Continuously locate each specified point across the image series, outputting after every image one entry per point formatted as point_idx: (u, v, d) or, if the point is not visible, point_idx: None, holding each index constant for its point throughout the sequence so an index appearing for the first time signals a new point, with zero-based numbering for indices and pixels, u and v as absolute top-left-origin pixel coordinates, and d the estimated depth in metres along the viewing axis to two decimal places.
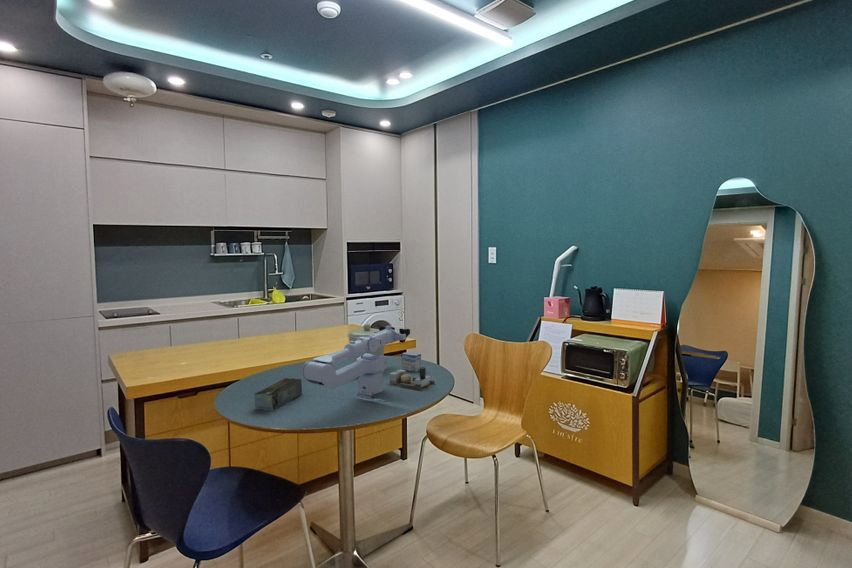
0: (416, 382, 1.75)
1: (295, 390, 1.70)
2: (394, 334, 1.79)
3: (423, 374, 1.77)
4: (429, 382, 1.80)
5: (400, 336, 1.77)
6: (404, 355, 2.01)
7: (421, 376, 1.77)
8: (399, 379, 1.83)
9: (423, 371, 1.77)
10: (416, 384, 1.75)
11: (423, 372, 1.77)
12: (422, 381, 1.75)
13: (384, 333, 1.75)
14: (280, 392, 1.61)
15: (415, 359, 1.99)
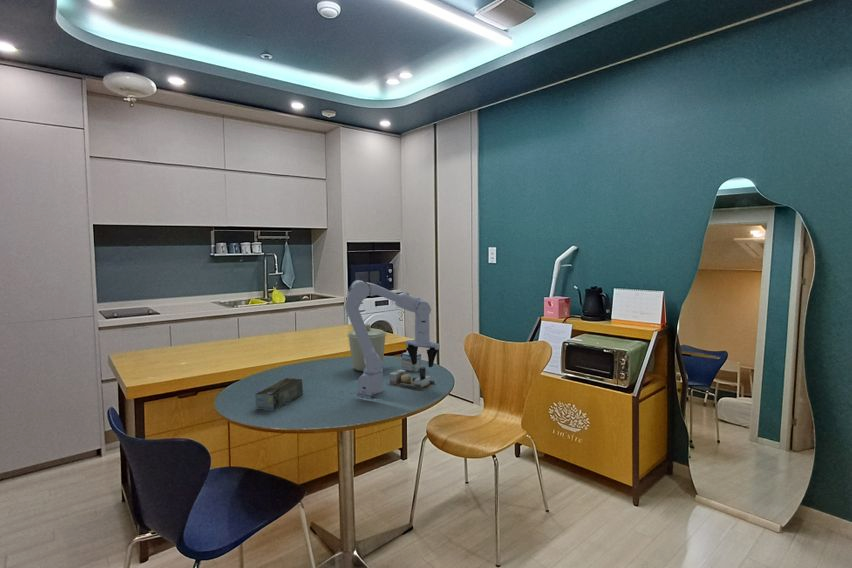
0: (416, 382, 1.75)
1: (296, 390, 1.70)
2: (429, 343, 1.76)
3: (423, 374, 1.77)
4: (429, 382, 1.80)
5: None
6: (404, 355, 2.01)
7: (421, 376, 1.77)
8: (399, 379, 1.83)
9: (423, 371, 1.77)
10: (416, 384, 1.75)
11: (423, 372, 1.77)
12: (422, 381, 1.75)
13: None
14: (281, 392, 1.61)
15: None
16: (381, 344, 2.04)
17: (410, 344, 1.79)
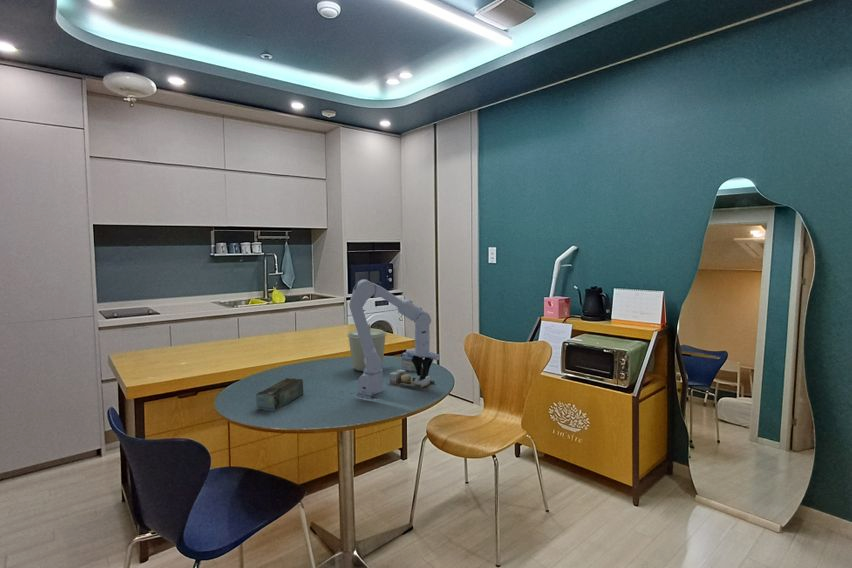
0: (416, 382, 1.75)
1: (297, 390, 1.70)
2: (429, 353, 1.76)
3: None
4: (429, 382, 1.80)
5: None
6: (404, 355, 2.01)
7: (421, 376, 1.77)
8: (399, 379, 1.83)
9: None
10: (416, 384, 1.75)
11: None
12: (422, 381, 1.75)
13: None
14: (282, 392, 1.61)
15: None
16: (381, 344, 2.04)
17: (410, 354, 1.80)
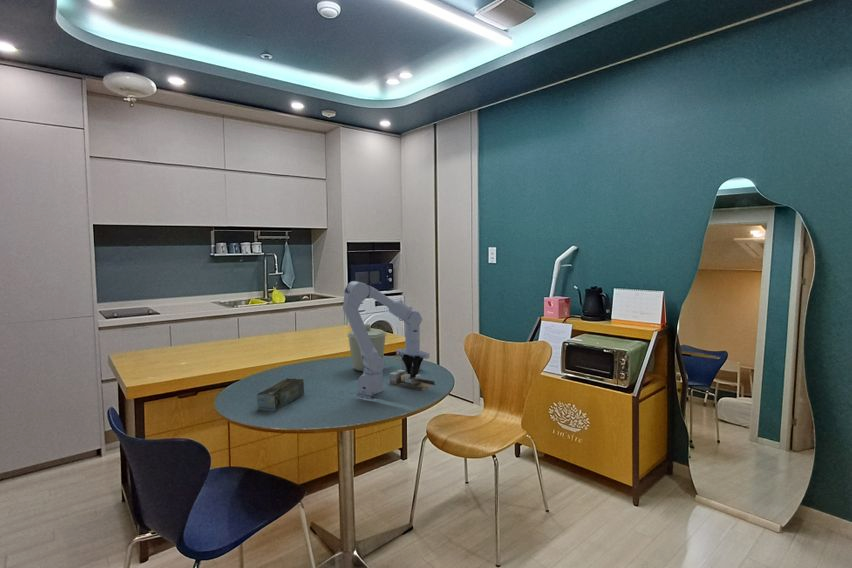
0: (406, 380, 1.78)
1: (298, 390, 1.70)
2: (420, 352, 1.79)
3: (413, 372, 1.79)
4: (419, 380, 1.82)
5: None
6: None
7: (411, 374, 1.79)
8: (399, 379, 1.83)
9: None
10: (406, 382, 1.78)
11: None
12: (412, 379, 1.77)
13: None
14: (283, 392, 1.61)
15: None
16: (381, 344, 2.04)
17: (401, 353, 1.82)
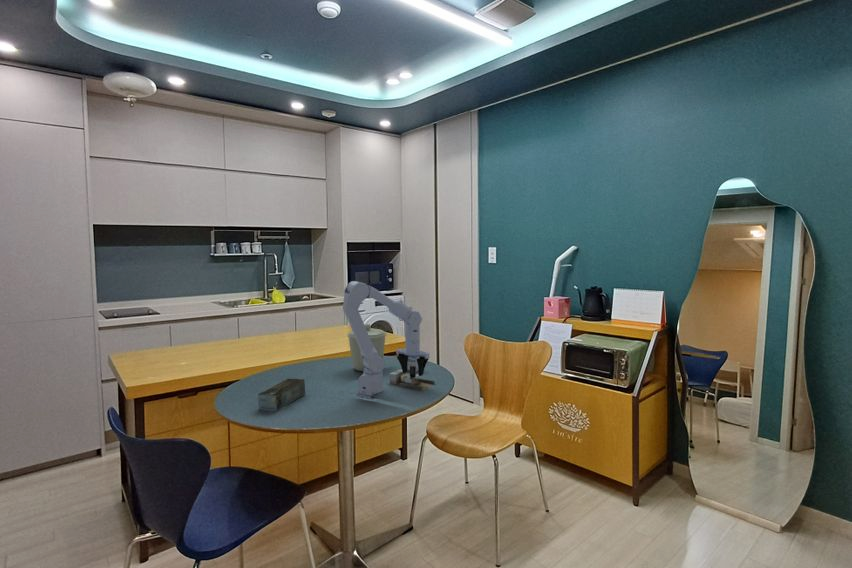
0: (406, 380, 1.78)
1: (299, 390, 1.70)
2: (420, 352, 1.79)
3: (413, 372, 1.79)
4: (419, 380, 1.82)
5: None
6: None
7: (411, 374, 1.79)
8: (399, 379, 1.83)
9: (413, 369, 1.79)
10: (406, 382, 1.78)
11: (413, 370, 1.79)
12: (412, 379, 1.77)
13: None
14: (284, 392, 1.61)
15: (415, 359, 1.99)
16: (381, 344, 2.04)
17: (401, 353, 1.82)
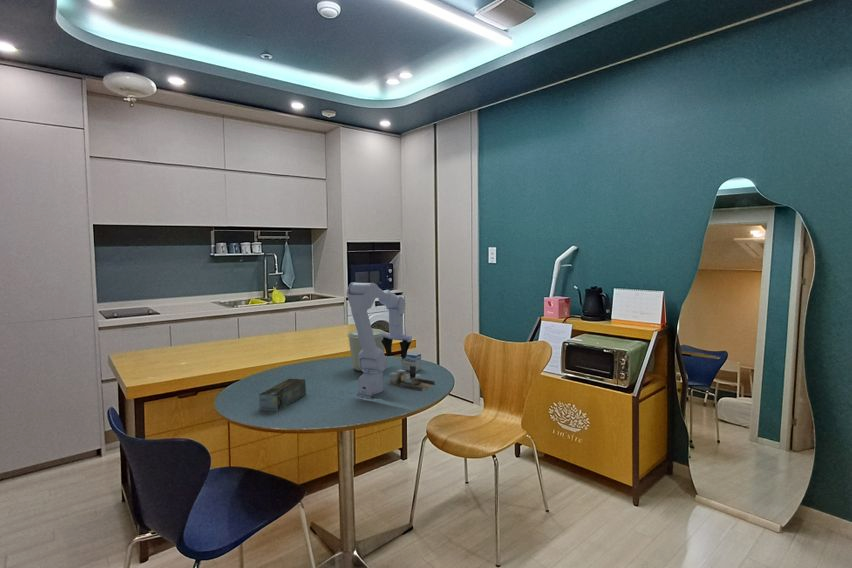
0: (406, 380, 1.78)
1: (300, 390, 1.70)
2: (403, 336, 1.87)
3: (413, 372, 1.79)
4: (419, 380, 1.82)
5: None
6: None
7: (411, 374, 1.79)
8: (399, 379, 1.83)
9: (413, 369, 1.79)
10: (406, 382, 1.78)
11: (413, 370, 1.79)
12: (412, 379, 1.77)
13: None
14: (285, 392, 1.60)
15: (415, 359, 1.99)
16: (381, 344, 2.04)
17: (385, 337, 1.91)
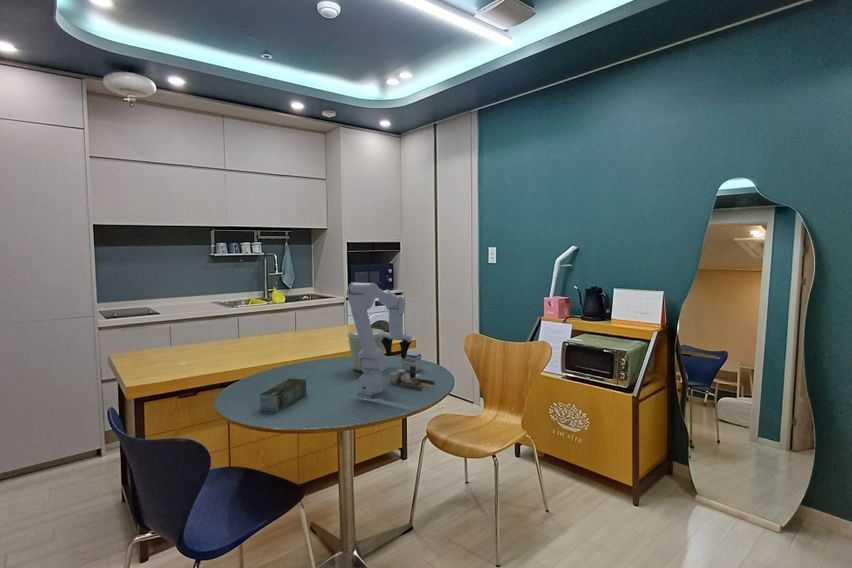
0: (406, 380, 1.78)
1: (300, 390, 1.70)
2: (403, 336, 1.87)
3: (413, 372, 1.79)
4: (419, 380, 1.82)
5: None
6: None
7: (411, 374, 1.79)
8: (399, 379, 1.83)
9: (413, 369, 1.79)
10: (406, 382, 1.78)
11: (413, 370, 1.79)
12: (412, 379, 1.77)
13: None
14: (285, 392, 1.60)
15: (415, 359, 1.99)
16: (381, 344, 2.04)
17: (385, 337, 1.91)
